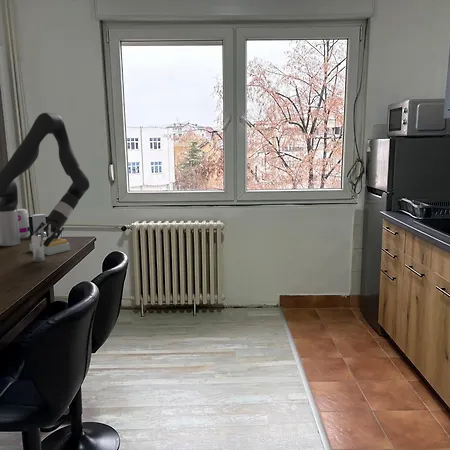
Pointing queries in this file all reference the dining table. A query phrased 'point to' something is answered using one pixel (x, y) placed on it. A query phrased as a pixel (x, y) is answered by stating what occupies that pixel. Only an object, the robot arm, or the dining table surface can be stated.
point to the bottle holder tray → (54, 246)
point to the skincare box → (38, 221)
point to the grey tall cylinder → (38, 247)
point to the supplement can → (23, 223)
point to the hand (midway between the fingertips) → (39, 244)
